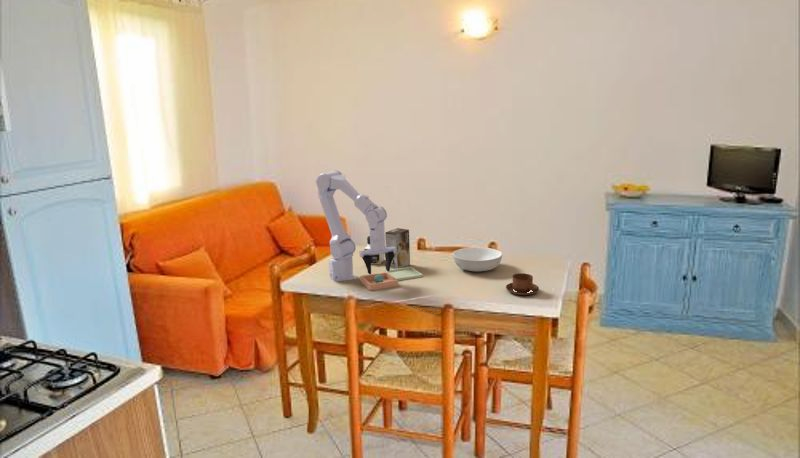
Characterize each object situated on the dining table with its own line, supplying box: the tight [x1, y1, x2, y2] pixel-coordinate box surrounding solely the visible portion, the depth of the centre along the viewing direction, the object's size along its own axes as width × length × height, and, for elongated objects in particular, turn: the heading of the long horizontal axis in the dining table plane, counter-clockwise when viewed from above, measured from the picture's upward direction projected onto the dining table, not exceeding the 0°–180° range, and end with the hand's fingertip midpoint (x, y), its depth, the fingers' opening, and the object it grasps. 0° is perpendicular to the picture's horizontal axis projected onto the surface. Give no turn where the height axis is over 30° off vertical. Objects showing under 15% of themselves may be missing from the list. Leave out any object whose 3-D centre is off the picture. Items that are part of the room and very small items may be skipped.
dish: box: [359, 271, 399, 291], centre depth 217 cm, size 12×12×3 cm
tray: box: [384, 266, 424, 282], centre depth 227 cm, size 12×12×1 cm
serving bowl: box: [452, 246, 503, 273], centre depth 234 cm, size 21×21×7 cm
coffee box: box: [385, 227, 411, 269], centre depth 238 cm, size 9×6×16 cm
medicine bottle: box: [363, 235, 386, 265], centre depth 246 cm, size 7×7×12 cm
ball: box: [374, 275, 383, 283], centre depth 217 cm, size 4×4×4 cm
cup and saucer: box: [505, 273, 540, 296], centre depth 206 cm, size 12×12×6 cm
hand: (378, 272), depth 216 cm, fingers open, 7 cm apart
